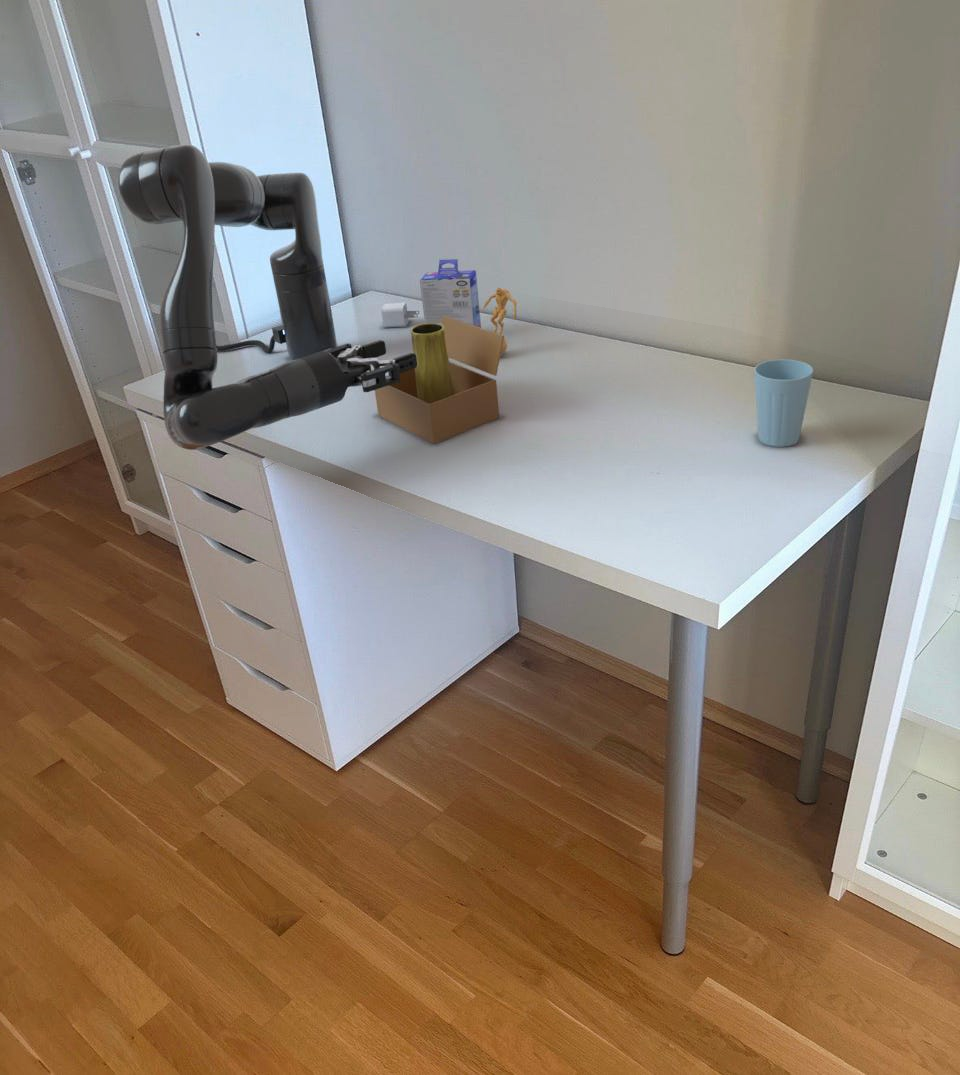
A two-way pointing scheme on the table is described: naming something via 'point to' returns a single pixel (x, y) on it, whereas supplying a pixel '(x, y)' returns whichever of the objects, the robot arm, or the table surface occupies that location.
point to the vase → (431, 362)
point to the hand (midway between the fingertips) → (399, 352)
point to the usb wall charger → (396, 315)
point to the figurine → (501, 311)
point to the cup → (781, 400)
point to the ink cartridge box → (450, 295)
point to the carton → (440, 405)
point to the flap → (472, 345)
